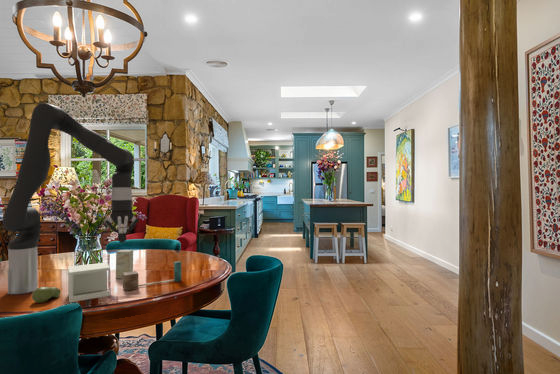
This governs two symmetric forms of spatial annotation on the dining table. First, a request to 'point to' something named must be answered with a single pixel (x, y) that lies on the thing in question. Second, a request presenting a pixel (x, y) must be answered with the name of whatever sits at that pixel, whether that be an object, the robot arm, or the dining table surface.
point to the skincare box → (124, 262)
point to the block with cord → (132, 283)
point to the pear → (45, 294)
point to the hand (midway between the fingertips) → (122, 242)
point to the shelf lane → (87, 281)
